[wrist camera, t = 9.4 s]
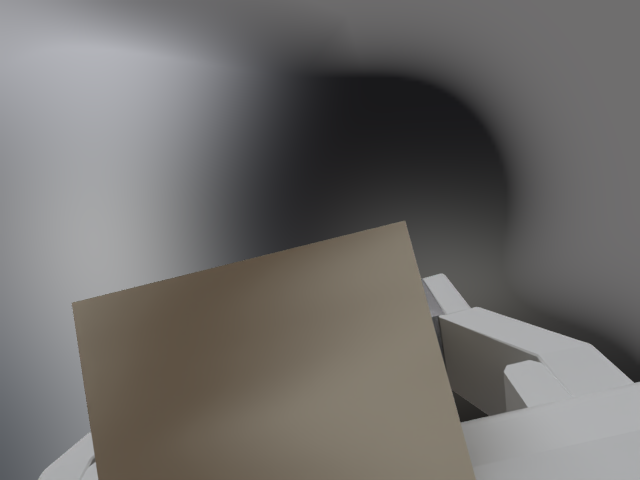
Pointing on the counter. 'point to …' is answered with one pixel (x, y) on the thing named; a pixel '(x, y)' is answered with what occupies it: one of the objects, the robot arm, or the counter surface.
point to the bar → (274, 370)
